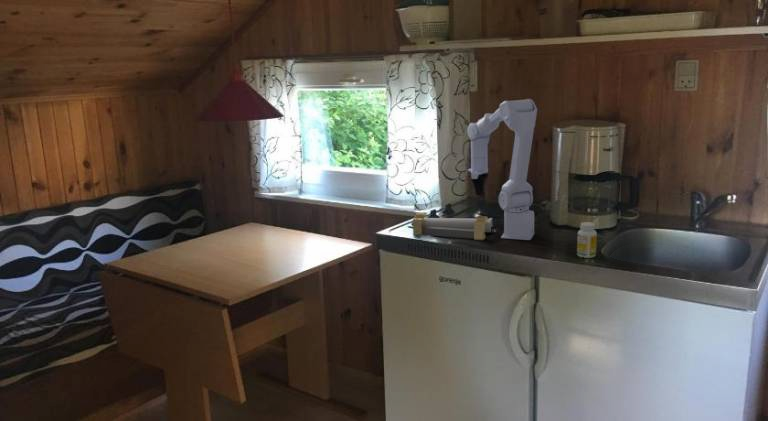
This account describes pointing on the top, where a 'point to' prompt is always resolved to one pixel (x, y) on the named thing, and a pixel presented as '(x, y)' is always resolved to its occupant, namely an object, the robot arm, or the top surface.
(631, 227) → the top surface
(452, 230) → the dark gray bar
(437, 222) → the tube
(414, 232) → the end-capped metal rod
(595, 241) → the supplement bottle
